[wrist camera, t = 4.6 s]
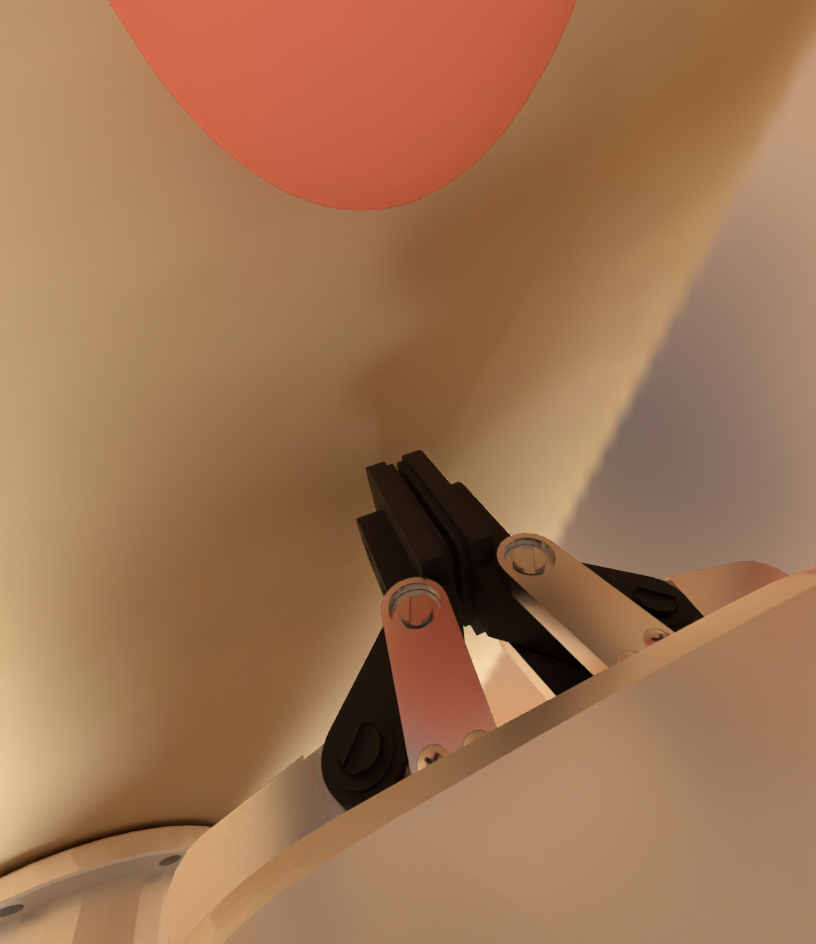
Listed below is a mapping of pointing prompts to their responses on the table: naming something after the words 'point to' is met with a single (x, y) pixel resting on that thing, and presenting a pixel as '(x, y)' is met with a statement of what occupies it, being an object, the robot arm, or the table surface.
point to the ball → (350, 85)
